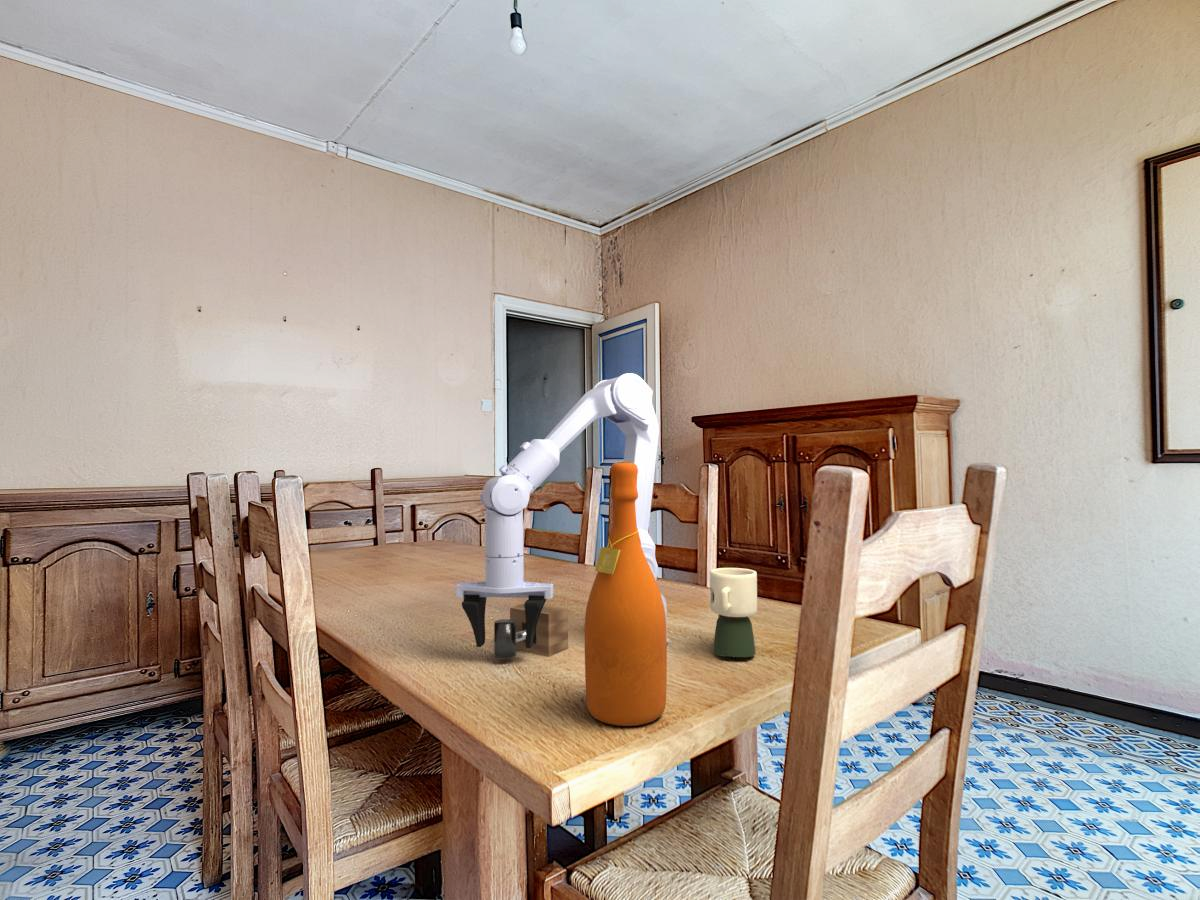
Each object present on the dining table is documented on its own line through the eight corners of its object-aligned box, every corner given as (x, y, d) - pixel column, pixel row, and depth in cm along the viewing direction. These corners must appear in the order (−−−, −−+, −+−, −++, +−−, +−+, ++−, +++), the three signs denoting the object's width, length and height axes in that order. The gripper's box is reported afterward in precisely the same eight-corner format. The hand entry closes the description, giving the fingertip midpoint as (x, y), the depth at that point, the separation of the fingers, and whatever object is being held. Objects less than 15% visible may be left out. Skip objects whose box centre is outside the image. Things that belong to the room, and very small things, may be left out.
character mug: (721, 643, 100) (720, 564, 100) (765, 649, 96) (764, 567, 97) (700, 663, 90) (699, 575, 90) (748, 670, 87) (747, 579, 87)
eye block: (530, 640, 102) (530, 601, 102) (568, 648, 98) (567, 607, 98) (510, 648, 98) (509, 607, 98) (548, 656, 94) (548, 614, 94)
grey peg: (545, 635, 102) (544, 605, 102) (560, 638, 100) (559, 607, 100) (489, 656, 91) (489, 622, 91) (505, 659, 89) (505, 625, 89)
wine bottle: (583, 698, 77) (581, 462, 78) (660, 695, 78) (657, 461, 78) (587, 732, 67) (585, 461, 68) (674, 728, 68) (671, 461, 69)
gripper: (556, 551, 95) (556, 638, 95) (466, 551, 96) (466, 637, 96) (548, 558, 88) (548, 652, 88) (451, 558, 89) (451, 650, 89)
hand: (505, 645), depth 91 cm, fingers open, 7 cm apart
